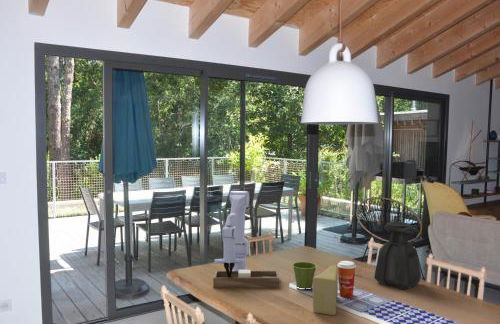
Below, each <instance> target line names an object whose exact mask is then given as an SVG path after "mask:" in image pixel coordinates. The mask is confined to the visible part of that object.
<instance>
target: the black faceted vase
mask: <svg viewBox="0 0 500 324" xmlns="http://www.w3.org/2000/svg"><path fill="white" fill-rule="evenodd" d="M383 229H384V230H386V231H389V232H391V233H390V236H389V239H388V241H387V242H385V243H384V244H382V245H381V247H380V249H379V252H378V256H377V261H376V266H375V271H374V277H373V278H374V280H376V281H377V283H379V284H380V285H384V286H388V287H392V288H396V289H399V290H404V291H405V290H406V289H410V288H411V287H413V286H416V285H417V284H419V283H420V281H421V280H422V273H421V266H420V261H419V256H418V251H417V249H416V248H415V247H414V245H413V243H412V242H409V241H408V237H407V234H406V232H408V231H411V230H413V229H414V226H413V225H412V224H410V223H408V222H403V221H388V222H386V224H385V225H383Z"/></svg>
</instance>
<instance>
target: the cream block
mask: <svg viewBox="0 0 500 324" xmlns="http://www.w3.org/2000/svg"><path fill="white" fill-rule="evenodd" d="M251 271H252V270H251V269H247V270H239V271H238V278H251Z"/></svg>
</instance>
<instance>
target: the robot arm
mask: <svg viewBox="0 0 500 324" xmlns="http://www.w3.org/2000/svg"><path fill="white" fill-rule="evenodd" d="M229 201H230V204H231V207H230V213H228V214H227V217H226V220H225V221H226V222H225V225H224V226H223V227H222V229H221V238H222V240H221V241H222V242H223V258H215V259H214V264H215V265H216V264H223V267H224V271H226V272H227V276H228V278H231V273H232V271H239V270H248V267H247V256H249V253H250V241H249V240H248V239H247V238H246V237H245V226H246V225H245V223H246V208H247V207H249V204H250V192H249V191H248V190H243V191H242V190H231V191H230V192H229ZM229 271H230V273H229Z"/></svg>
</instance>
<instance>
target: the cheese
mask: <svg viewBox="0 0 500 324" xmlns="http://www.w3.org/2000/svg"><path fill="white" fill-rule="evenodd" d="M338 287H339V281H338V266H337V265H336V264H335V265H334V264H332V265H330V266H328V267H327V268H326V269H325V270H323V272H321V273H319V274H318V275H316V276H315V275H314V278H313V284H312V307H313V308H312V311H313V312H314V313H317V314H323V315H328V316H329V315H330V316H336V313H337V301H338V295H339V291H338V290H339V289H338Z"/></svg>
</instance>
